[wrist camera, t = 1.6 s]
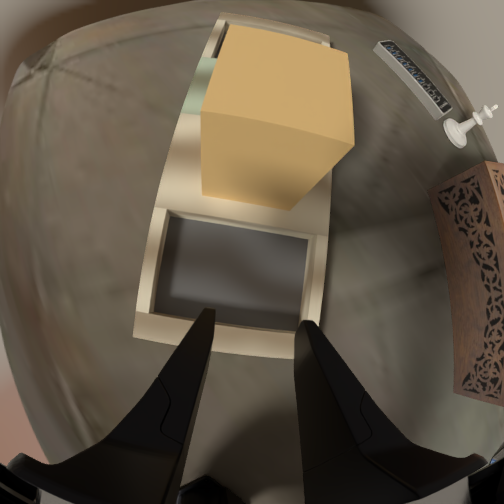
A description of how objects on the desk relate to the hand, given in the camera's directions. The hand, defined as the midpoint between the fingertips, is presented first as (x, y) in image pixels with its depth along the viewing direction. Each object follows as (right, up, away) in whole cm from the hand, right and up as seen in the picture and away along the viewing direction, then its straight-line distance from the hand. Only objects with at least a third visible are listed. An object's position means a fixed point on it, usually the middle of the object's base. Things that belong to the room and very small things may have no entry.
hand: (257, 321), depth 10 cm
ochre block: (0, +10, +13) cm, 16 cm away
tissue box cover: (+30, -2, +19) cm, 35 cm away
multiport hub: (+24, +28, +23) cm, 43 cm away
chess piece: (+30, +20, +22) cm, 42 cm away
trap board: (0, +13, +16) cm, 20 cm away
